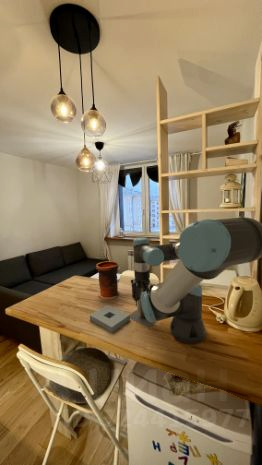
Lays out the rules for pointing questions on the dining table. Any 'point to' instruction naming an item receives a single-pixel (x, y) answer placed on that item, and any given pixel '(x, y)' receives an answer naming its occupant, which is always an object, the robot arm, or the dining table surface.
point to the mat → (140, 319)
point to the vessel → (108, 279)
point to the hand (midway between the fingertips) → (143, 313)
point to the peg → (141, 309)
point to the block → (111, 323)
